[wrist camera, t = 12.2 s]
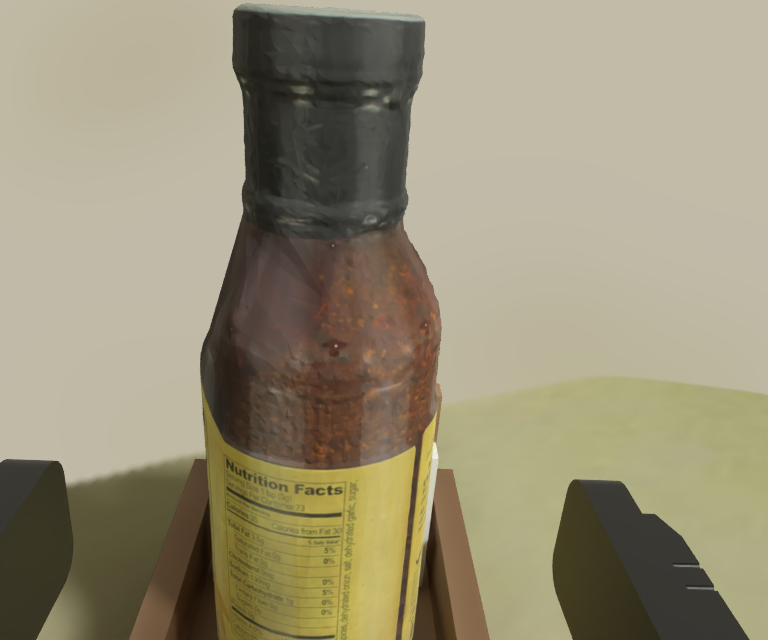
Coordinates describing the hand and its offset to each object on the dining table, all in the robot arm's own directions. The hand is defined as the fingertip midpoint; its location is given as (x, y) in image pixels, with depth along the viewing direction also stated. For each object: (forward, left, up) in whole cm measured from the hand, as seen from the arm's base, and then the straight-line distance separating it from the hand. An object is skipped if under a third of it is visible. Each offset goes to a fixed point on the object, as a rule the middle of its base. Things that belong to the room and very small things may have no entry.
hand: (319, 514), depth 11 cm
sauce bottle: (0, +7, -12) cm, 14 cm away
